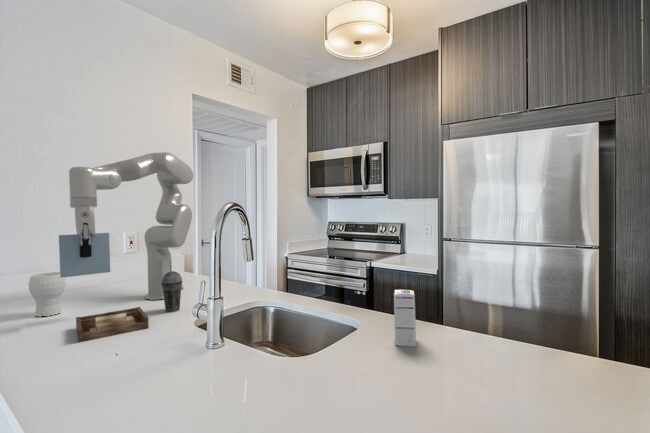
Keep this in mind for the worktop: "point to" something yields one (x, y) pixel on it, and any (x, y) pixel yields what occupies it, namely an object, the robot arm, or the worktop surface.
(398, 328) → the syrup box
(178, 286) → the beverage cup
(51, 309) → the cup
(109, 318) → the offcut top
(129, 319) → the offcut middle
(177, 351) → the worktop surface
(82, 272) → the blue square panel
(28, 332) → the worktop surface
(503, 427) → the worktop surface
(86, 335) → the rack
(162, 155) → the robot arm
